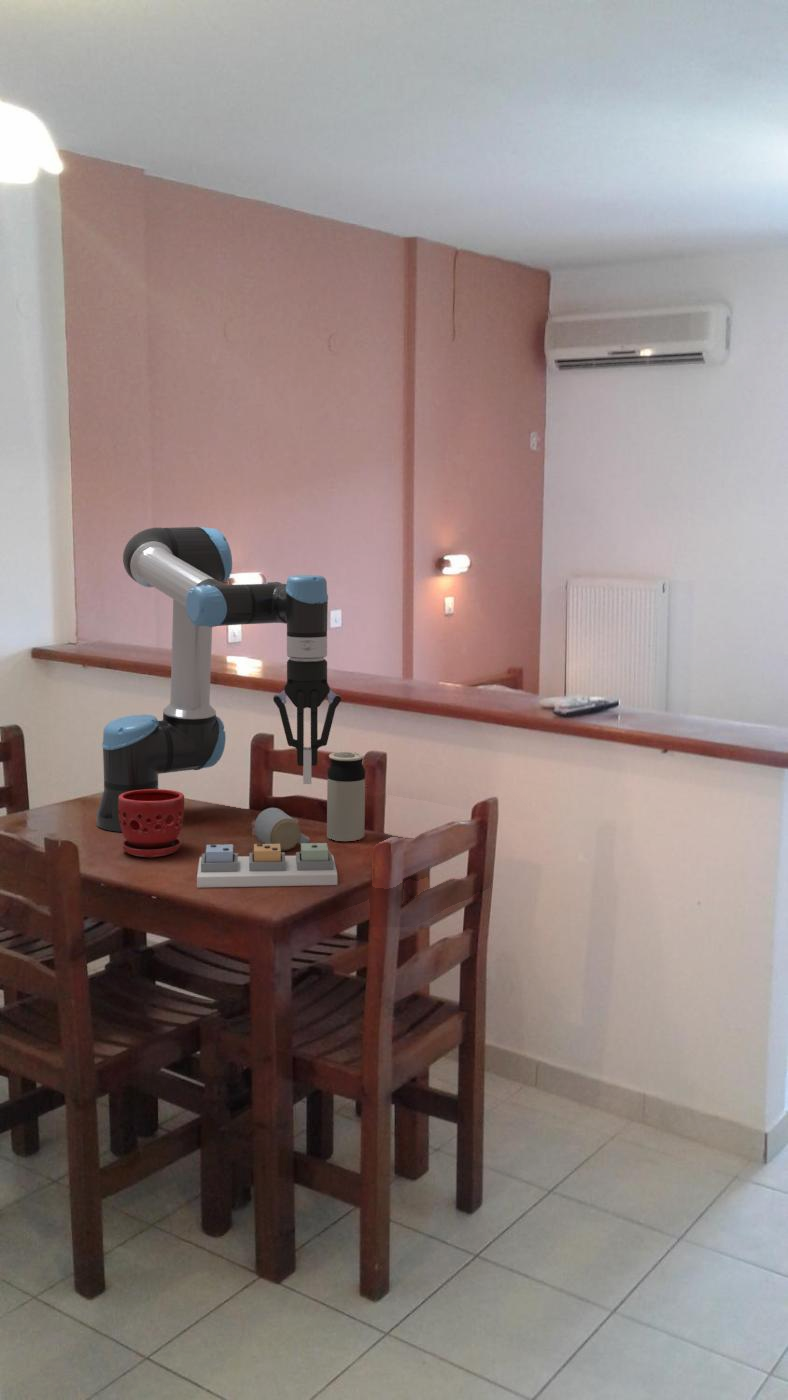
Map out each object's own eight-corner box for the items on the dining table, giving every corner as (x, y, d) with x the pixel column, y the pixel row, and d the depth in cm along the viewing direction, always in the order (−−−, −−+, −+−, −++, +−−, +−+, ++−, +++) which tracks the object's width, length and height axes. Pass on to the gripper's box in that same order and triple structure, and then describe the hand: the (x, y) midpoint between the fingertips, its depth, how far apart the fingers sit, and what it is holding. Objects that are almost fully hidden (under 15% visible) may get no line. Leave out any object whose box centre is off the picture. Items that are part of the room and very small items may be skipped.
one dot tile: (300, 853, 245) (300, 842, 244) (326, 852, 245) (326, 842, 245) (301, 860, 240) (301, 849, 239) (328, 860, 240) (328, 849, 240)
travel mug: (329, 843, 265) (329, 759, 262) (324, 833, 273) (325, 751, 270) (366, 842, 266) (368, 758, 263) (361, 832, 274) (362, 750, 271)
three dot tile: (253, 854, 244) (253, 843, 243) (280, 853, 244) (280, 842, 244) (254, 861, 239) (254, 850, 238) (280, 861, 239) (280, 849, 239)
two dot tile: (206, 854, 243) (206, 843, 242) (233, 854, 243) (232, 843, 243) (205, 862, 238) (205, 851, 237) (232, 861, 238) (232, 850, 238)
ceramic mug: (270, 854, 256) (271, 817, 255) (253, 845, 263) (253, 808, 262) (317, 848, 262) (317, 812, 260) (298, 839, 268) (299, 804, 267)
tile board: (199, 866, 247) (199, 849, 246) (332, 864, 250) (333, 847, 249) (197, 887, 234) (196, 868, 234) (337, 884, 237) (337, 866, 237)
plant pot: (193, 856, 254) (192, 798, 252) (128, 863, 248) (127, 804, 246) (174, 839, 266) (173, 784, 264) (112, 846, 260) (110, 789, 258)
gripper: (271, 661, 231) (272, 787, 235) (343, 660, 233) (342, 786, 236) (271, 656, 239) (272, 778, 242) (340, 656, 240) (340, 777, 244)
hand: (307, 782), depth 239 cm, fingers closed
